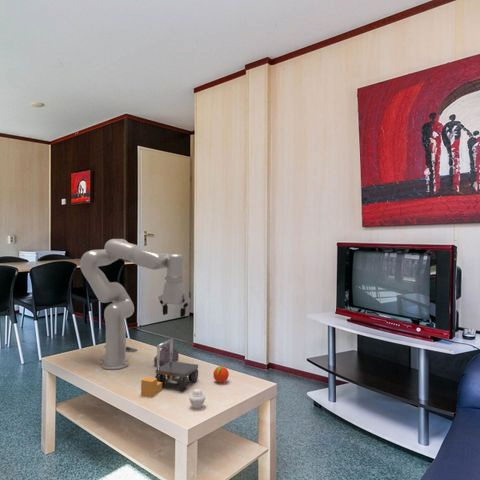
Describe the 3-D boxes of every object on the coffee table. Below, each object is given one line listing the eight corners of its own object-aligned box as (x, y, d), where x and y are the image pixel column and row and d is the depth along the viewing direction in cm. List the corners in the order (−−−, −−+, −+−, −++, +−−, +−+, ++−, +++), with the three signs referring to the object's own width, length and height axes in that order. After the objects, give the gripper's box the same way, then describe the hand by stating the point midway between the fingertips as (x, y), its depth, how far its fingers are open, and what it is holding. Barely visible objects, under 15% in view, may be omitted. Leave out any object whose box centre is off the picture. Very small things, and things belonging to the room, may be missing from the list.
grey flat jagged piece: (139, 351, 218) (139, 347, 218) (130, 354, 212) (130, 350, 212) (113, 346, 228) (113, 342, 228) (104, 348, 222) (104, 345, 222)
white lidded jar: (200, 411, 143) (200, 393, 143) (186, 408, 145) (186, 390, 145) (207, 405, 149) (208, 387, 149) (193, 402, 151) (194, 384, 151)
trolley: (153, 388, 164) (153, 346, 164) (171, 375, 179) (172, 337, 179) (182, 393, 159) (183, 350, 159) (199, 380, 174) (199, 340, 174)
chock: (141, 395, 157) (141, 380, 156) (151, 388, 164) (152, 373, 164) (151, 397, 155) (151, 381, 155) (162, 390, 162) (162, 375, 162)
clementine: (224, 386, 167) (225, 370, 167) (210, 384, 169) (210, 368, 169) (230, 380, 175) (230, 364, 175) (216, 378, 177) (216, 363, 177)
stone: (160, 348, 188) (180, 340, 201) (151, 347, 191) (171, 339, 204) (161, 369, 188) (181, 360, 201) (152, 368, 191) (172, 359, 204)
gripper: (154, 279, 184) (154, 315, 184) (186, 281, 178) (185, 318, 178) (163, 277, 191) (162, 312, 191) (194, 280, 185) (193, 315, 185)
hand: (173, 315), depth 185 cm, fingers open, 9 cm apart
